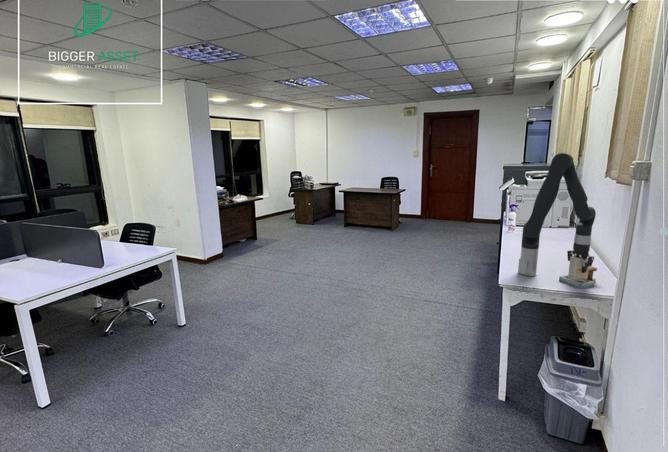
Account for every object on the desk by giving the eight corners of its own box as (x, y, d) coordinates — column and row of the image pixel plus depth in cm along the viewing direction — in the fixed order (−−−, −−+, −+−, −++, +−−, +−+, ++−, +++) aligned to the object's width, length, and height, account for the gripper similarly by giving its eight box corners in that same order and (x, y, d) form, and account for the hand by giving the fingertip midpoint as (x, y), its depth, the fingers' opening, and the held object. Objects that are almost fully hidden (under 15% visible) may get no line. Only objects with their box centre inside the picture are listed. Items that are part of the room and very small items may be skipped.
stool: (590, 283, 190) (592, 270, 188) (579, 279, 195) (581, 266, 194) (597, 281, 192) (599, 268, 190) (587, 278, 197) (589, 265, 195)
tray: (581, 288, 183) (581, 284, 182) (559, 280, 195) (559, 276, 195) (594, 286, 186) (594, 281, 185) (571, 278, 198) (572, 273, 197)
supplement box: (581, 277, 193) (584, 255, 190) (587, 280, 188) (590, 258, 185) (567, 277, 192) (570, 256, 190) (573, 280, 188) (576, 258, 185)
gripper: (564, 240, 191) (561, 267, 195) (590, 246, 178) (586, 275, 181) (574, 238, 193) (570, 266, 197) (600, 244, 180) (596, 274, 183)
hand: (578, 270), depth 189 cm, fingers closed on supplement box, 5 cm apart
